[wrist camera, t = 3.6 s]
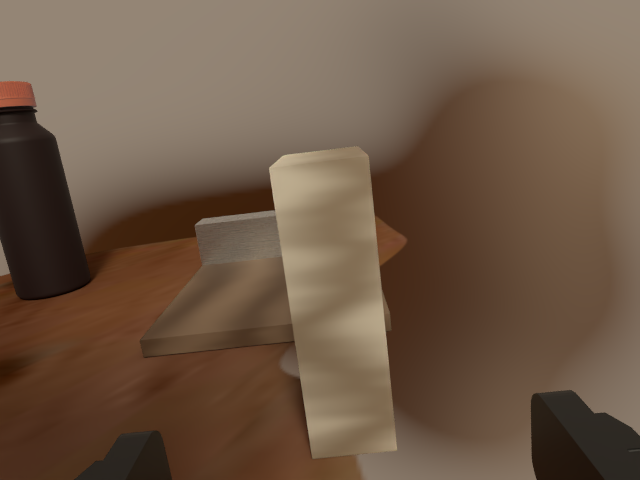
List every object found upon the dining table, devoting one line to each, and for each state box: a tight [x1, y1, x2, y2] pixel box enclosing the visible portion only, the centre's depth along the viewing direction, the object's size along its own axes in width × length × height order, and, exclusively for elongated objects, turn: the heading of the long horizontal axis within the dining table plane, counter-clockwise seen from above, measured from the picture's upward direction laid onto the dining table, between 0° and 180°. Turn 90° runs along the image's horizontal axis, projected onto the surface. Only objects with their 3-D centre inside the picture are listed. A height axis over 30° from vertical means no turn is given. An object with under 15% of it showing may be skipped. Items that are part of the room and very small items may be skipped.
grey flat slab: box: [140, 257, 391, 357], centre depth 39 cm, size 16×18×1 cm
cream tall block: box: [269, 146, 397, 459], centre depth 21 cm, size 4×6×12 cm, turn 179°
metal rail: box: [195, 210, 282, 266], centre depth 47 cm, size 16×3×4 cm, turn 89°
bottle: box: [0, 81, 90, 300], centre depth 46 cm, size 7×7×20 cm
